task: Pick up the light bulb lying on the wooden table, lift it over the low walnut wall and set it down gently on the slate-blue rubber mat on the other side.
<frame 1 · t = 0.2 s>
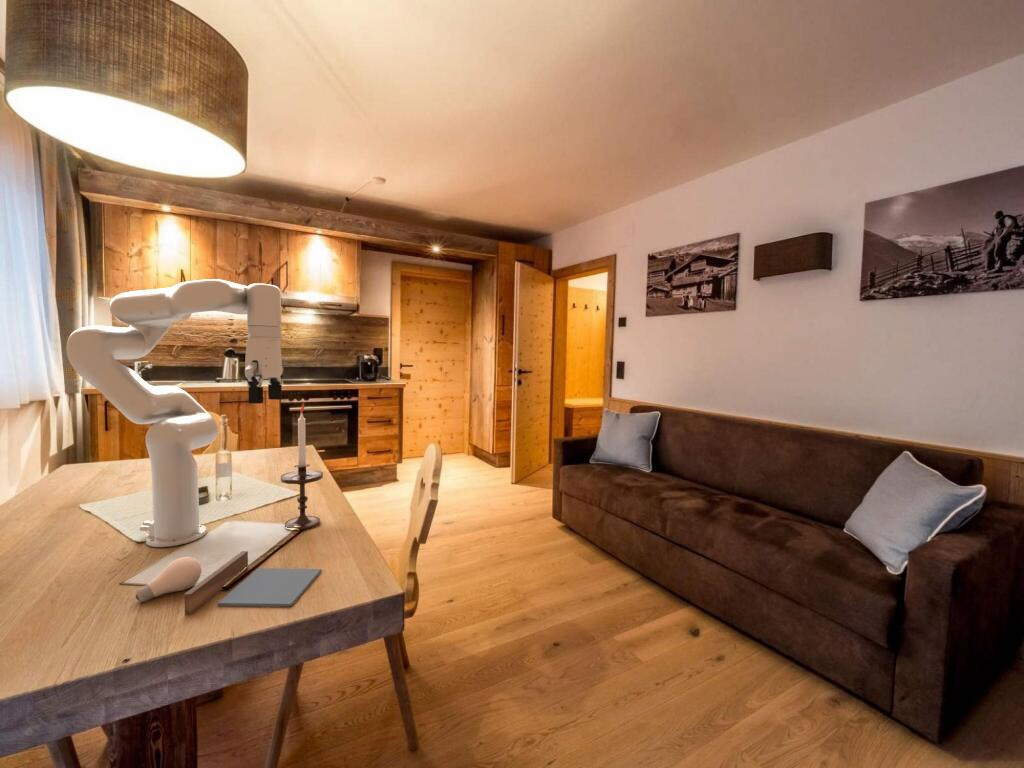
hand: (266, 401, 113), 36 cm above the table, tool pointing down, fingers open, 9 cm apart
light bulb: (170, 593, 90), on the table
mat: (273, 587, 92), on the table
candlestick: (302, 525, 126), on the table
low wall: (219, 589, 91), on the table
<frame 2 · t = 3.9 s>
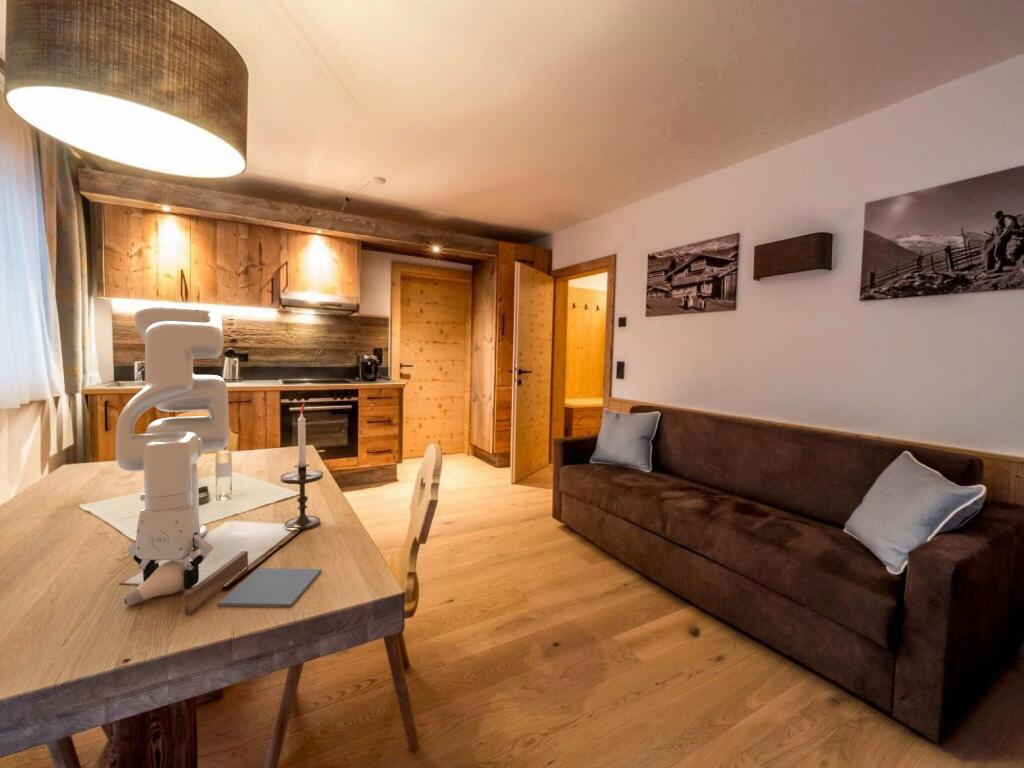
hand: (171, 585, 90), 1 cm above the table, tool pointing down, fingers closed on light bulb, 7 cm apart
light bulb: (159, 597, 88), on the table, touching gripper
everything else where it was.
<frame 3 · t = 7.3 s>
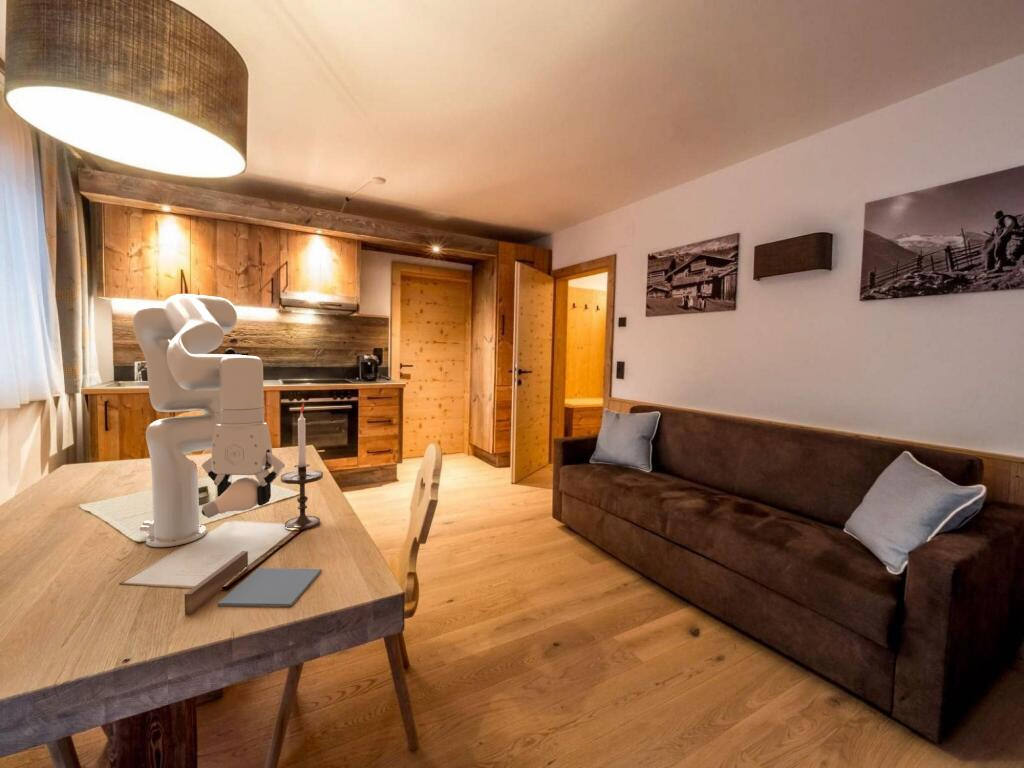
hand: (244, 502, 90), 18 cm above the table, tool pointing down, fingers closed on light bulb, 7 cm apart
light bulb: (233, 512, 88), point 17 cm above the table, touching gripper
everything else where it was.
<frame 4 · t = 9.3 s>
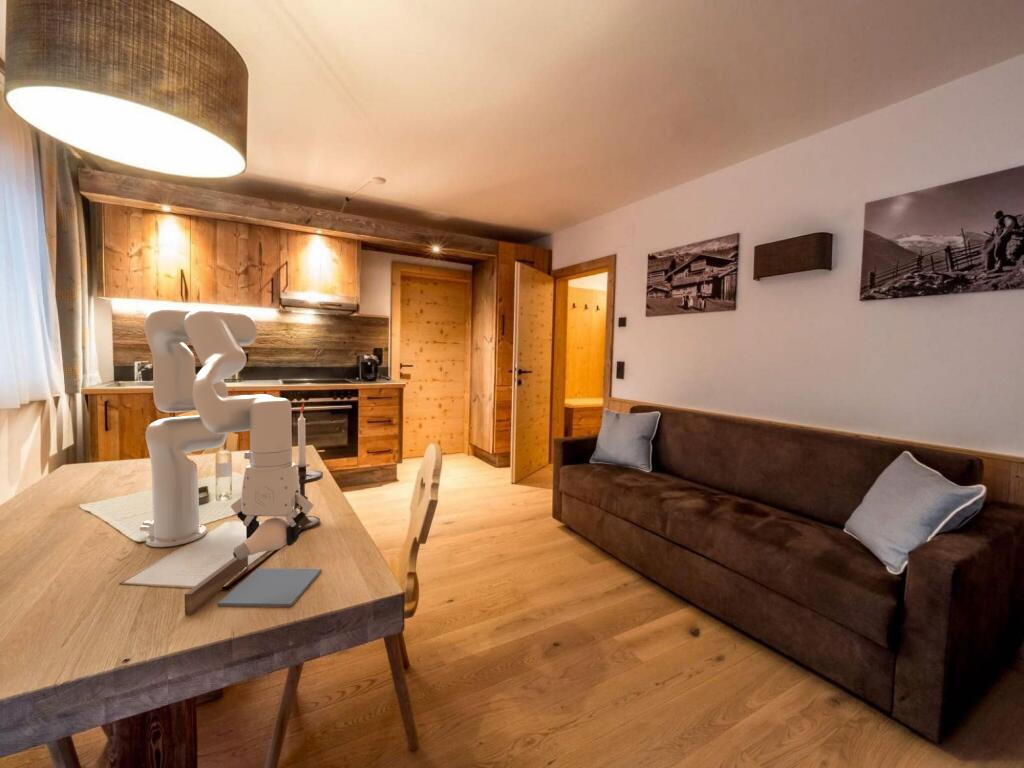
hand: (273, 542, 91), 10 cm above the table, tool pointing down, fingers closed on light bulb, 7 cm apart
light bulb: (263, 553, 90), point 8 cm above the table, touching gripper
everything else where it was.
when the fingers open (3 cm above the table, at t = 11.1 s): light bulb drops 1 cm, resting on mat.
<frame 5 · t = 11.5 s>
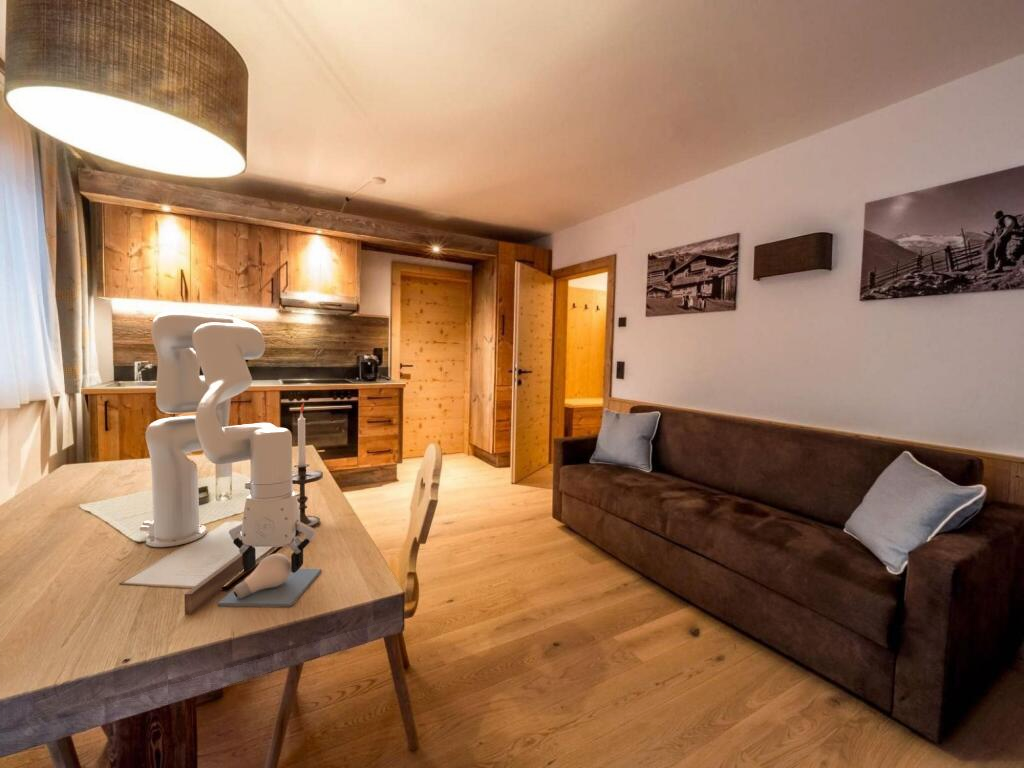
hand: (273, 569, 92), 4 cm above the table, tool pointing down, fingers open, 9 cm apart
light bulb: (263, 590, 90), resting on mat
everything else where it was.
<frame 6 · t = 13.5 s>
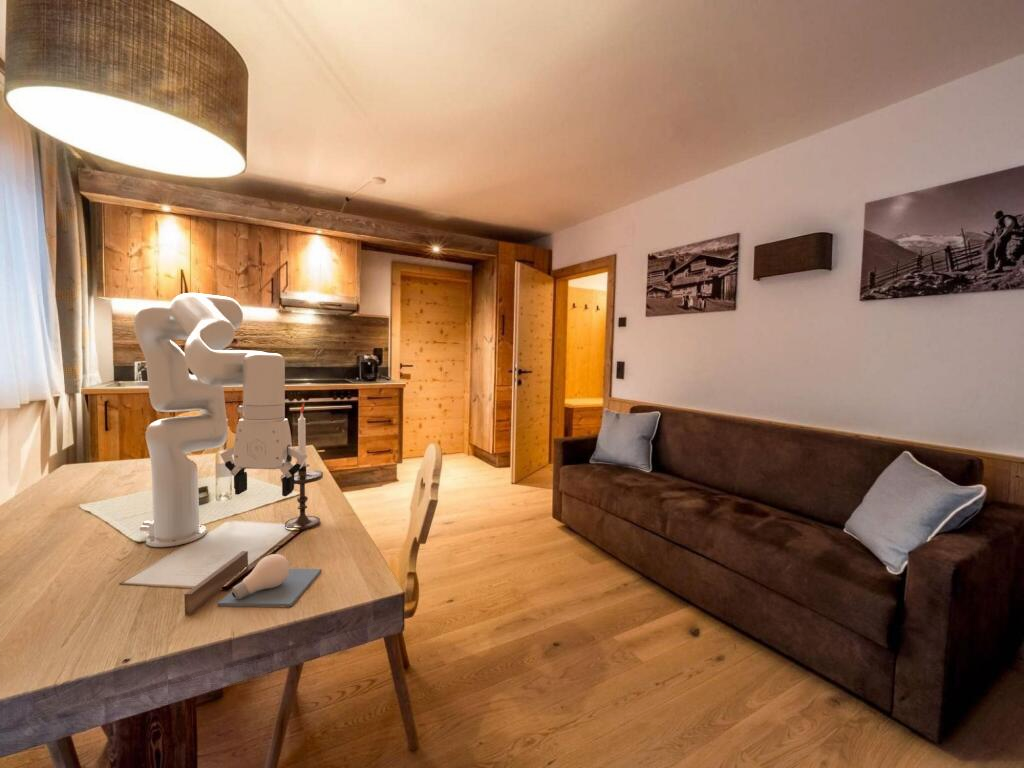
hand: (264, 493, 93), 19 cm above the table, tool pointing down, fingers open, 9 cm apart
nothing on the table moved.
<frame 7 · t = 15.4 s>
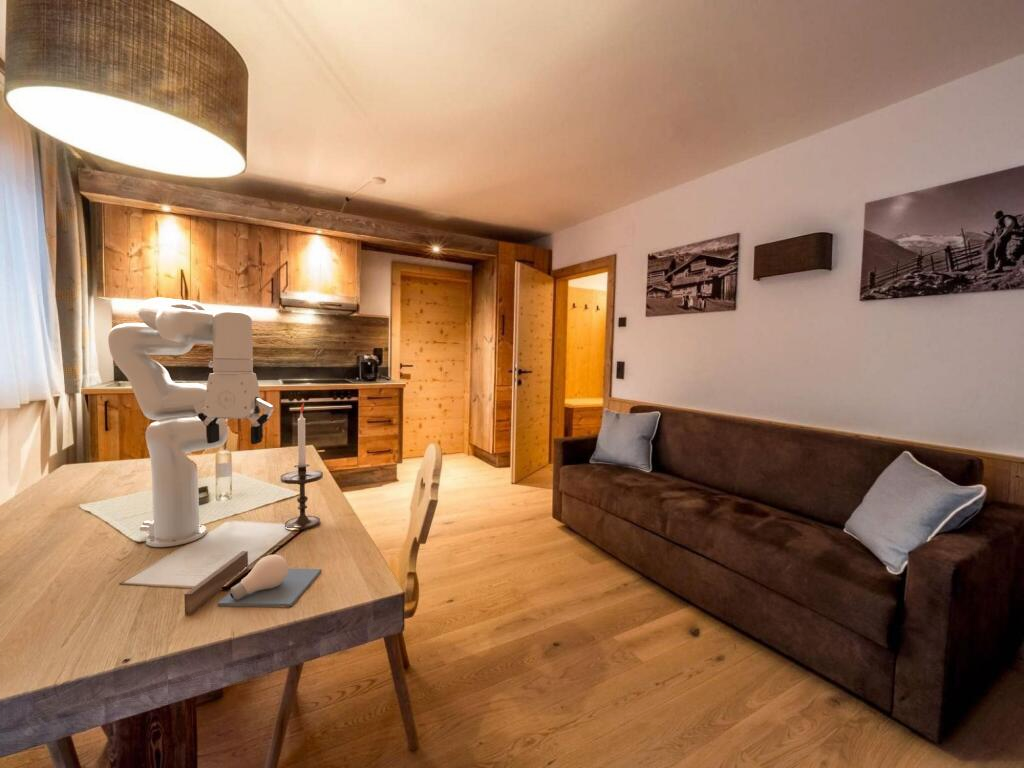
hand: (235, 442, 100), 28 cm above the table, tool pointing down, fingers open, 9 cm apart
nothing on the table moved.
at the end: light bulb inside the target area on the mat (2.8 cm from its centre), point 0.4 cm above the mat's base; light bulb touching mat; the gripper is holding nothing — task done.
